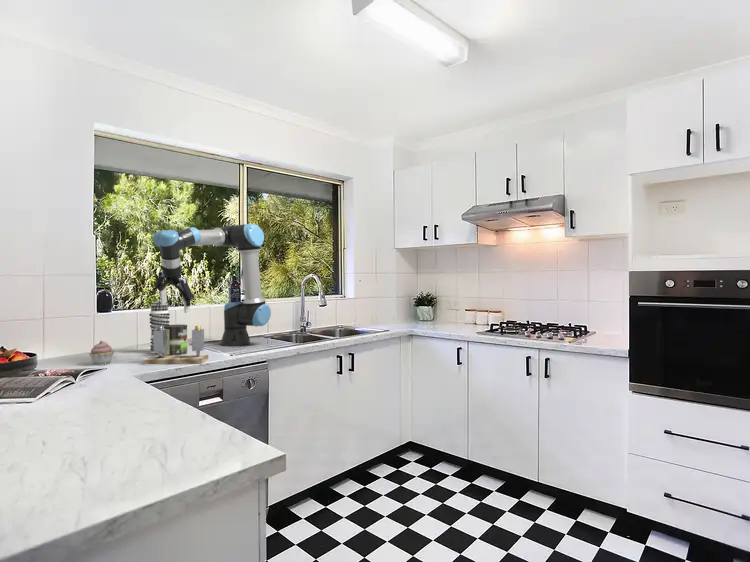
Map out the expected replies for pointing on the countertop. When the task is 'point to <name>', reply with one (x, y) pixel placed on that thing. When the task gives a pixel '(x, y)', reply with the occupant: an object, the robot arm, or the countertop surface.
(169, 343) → the coffee can
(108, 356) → the cupcake
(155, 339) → the fixed leg
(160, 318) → the decorative candle
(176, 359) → the board
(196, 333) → the block
